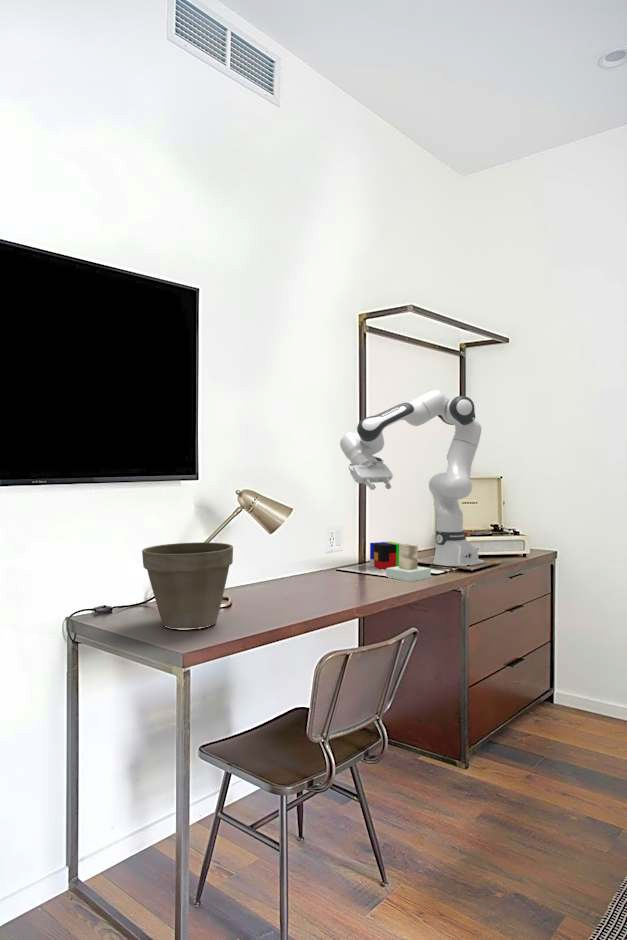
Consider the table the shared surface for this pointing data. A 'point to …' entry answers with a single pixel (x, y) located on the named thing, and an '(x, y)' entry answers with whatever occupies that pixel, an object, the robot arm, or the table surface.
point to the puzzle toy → (384, 555)
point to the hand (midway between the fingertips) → (381, 488)
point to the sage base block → (408, 573)
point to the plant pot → (188, 581)
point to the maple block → (408, 556)
